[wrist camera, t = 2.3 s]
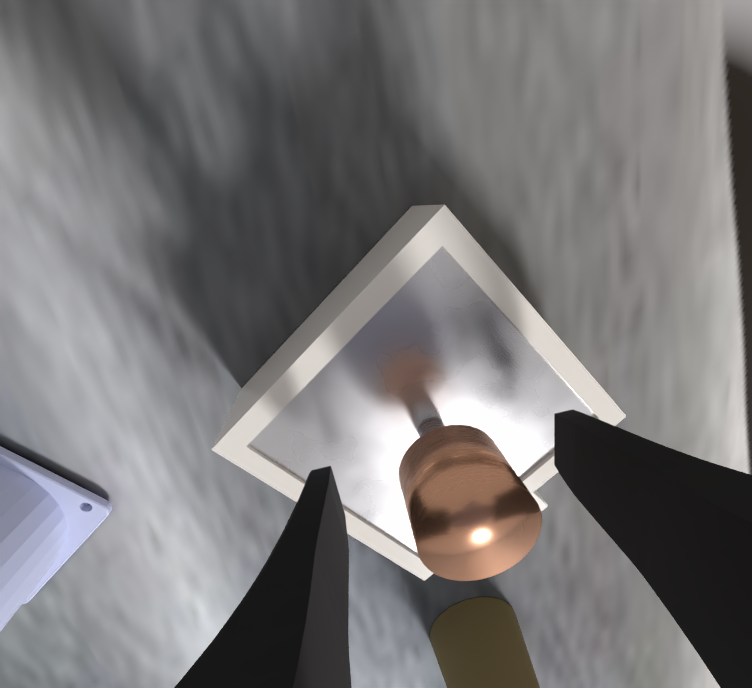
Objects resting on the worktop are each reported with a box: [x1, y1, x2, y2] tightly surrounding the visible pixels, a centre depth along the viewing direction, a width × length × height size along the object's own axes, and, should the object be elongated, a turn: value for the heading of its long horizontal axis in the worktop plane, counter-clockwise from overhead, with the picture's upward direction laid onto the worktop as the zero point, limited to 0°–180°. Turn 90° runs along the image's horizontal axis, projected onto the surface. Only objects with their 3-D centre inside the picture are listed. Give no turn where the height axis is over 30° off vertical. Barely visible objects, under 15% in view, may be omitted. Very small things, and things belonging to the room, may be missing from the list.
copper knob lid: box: [248, 247, 596, 581], centre depth 11 cm, size 9×9×5 cm
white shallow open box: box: [211, 205, 626, 581], centre depth 15 cm, size 13×11×4 cm
